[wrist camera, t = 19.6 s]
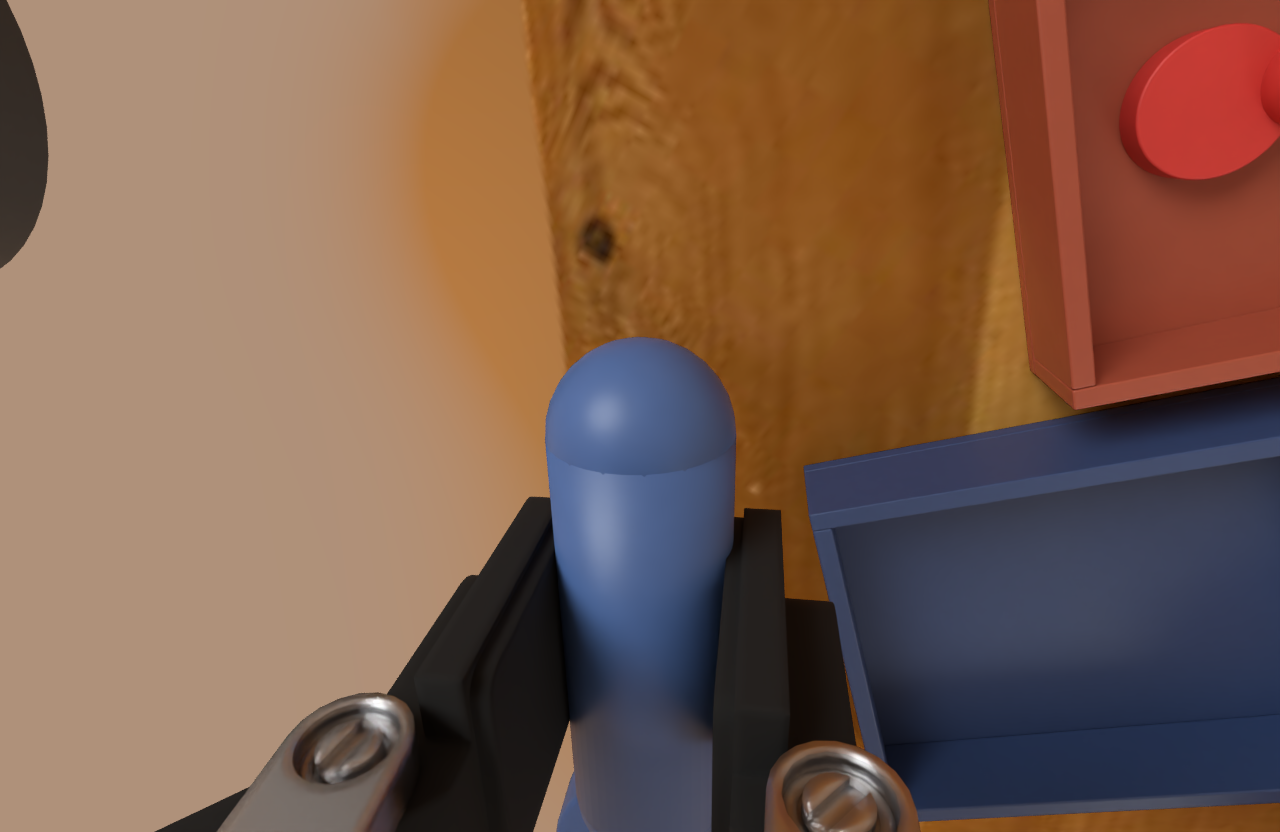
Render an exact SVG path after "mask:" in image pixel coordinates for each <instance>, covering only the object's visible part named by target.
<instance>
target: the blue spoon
mask: <svg viewBox="0 0 1280 832" xmlns="http://www.w3.org/2000/svg"><path fill="white" fill-rule="evenodd" d="M545 443H546V454H547V466H548V477H549V489H550V500H551V511H552V523H553V534H554V545H555V556H556V568H557V579H558V590H559V602H560V613H561V625H562V636H563V647H564V659H565V670H566V682H567V693H568V704H569V716H570V727H571V738H572V750H573V760H574V772H573V774H572V777H571V780H570V782H569V786H568V789H567V792H566V796H565V799H564V803H563V806H562V809H561V813H560V816H559V819H558V824H557V832H711V817H712V740H713V706H714V690H715V678H716V666H717V655H718V644H719V632H720V621H721V610H722V598H723V587H724V576H725V564H726V558H727V557H728V556H729V554H730V552H731V550H732V547H733V542H734V501H735V461H736V428H735V417H734V411H733V408H732V405H731V402H730V398H729V395H728V393H727V391H726V390H725V388H724V386H723V384H722V382H721V381H720V379H719V378H718V376H717V375H716V374H715V373H714V371H713V370H712V369H711V368H710V367H709V366H708V365H707V364H706V362H705V361H703V360H702V359H700V358H699V357H698V356H696V355H695V354H694V353H692V352H691V351H689V350H688V349H686V348H684V347H681V346H679V345H677V344H674V343H672V342H669V341H667V340H663V339H657V338H647V337H632V338H625V339H619V340H615V341H611V342H608V343H606V344H604V345H602V346H600V347H598V348H596V349H594V350H592V351H590V352H588V353H587V354H586V355H584V356H583V357H582V358H581V359H579V360H578V361H577V362H576V363H575V364H574V365H572V366H571V367H570V369H569V370H568V371H567V373H566V374H565V375H564V376H563V378H562V379H561V380H560V382H559V384H558V386H557V388H556V390H555V392H554V394H553V397H552V398H551V401H550V404H549V408H548V412H547V416H546V436H545Z"/></svg>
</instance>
